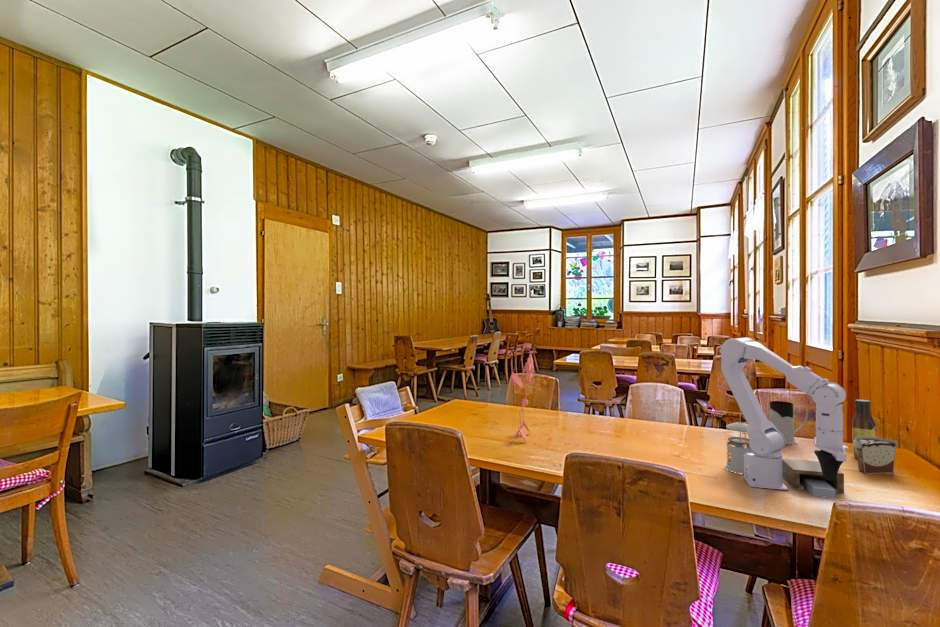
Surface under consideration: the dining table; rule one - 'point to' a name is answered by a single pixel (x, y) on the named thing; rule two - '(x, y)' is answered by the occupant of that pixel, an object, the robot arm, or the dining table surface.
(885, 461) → the food container
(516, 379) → the figurine
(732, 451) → the french press
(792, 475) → the overhang shelf
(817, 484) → the grey rectangular block
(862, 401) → the sauce bottle
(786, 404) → the glass holder
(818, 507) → the dining table surface
